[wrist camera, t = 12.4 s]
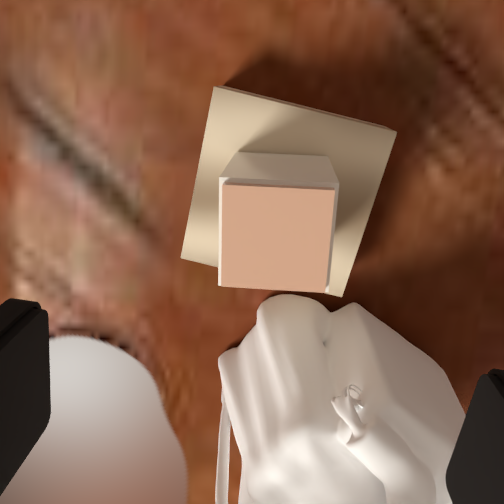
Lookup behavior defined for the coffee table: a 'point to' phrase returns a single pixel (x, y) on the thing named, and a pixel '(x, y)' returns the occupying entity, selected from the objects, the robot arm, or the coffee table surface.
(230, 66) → the coffee table surface
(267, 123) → the block
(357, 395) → the religious statue
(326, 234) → the peach rectangular block
